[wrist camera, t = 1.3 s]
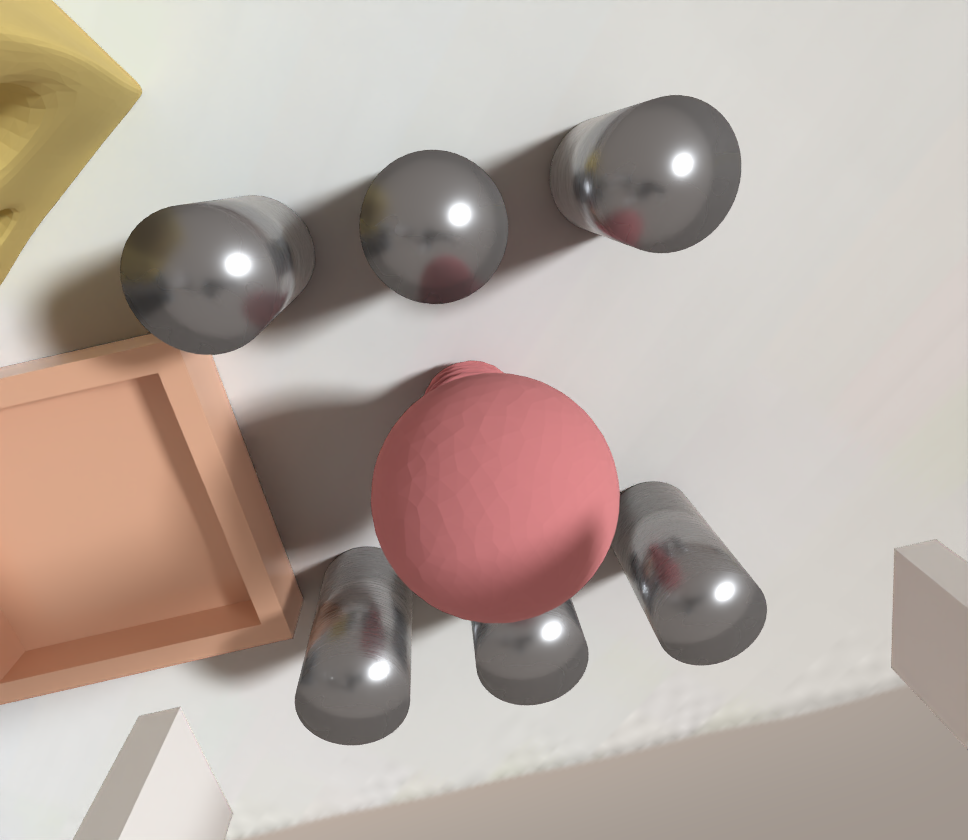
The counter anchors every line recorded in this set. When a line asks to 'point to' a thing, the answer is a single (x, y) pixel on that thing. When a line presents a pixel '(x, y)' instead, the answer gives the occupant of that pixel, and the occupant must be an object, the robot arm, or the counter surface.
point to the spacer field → (442, 279)
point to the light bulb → (494, 495)
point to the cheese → (49, 113)
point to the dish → (129, 521)
